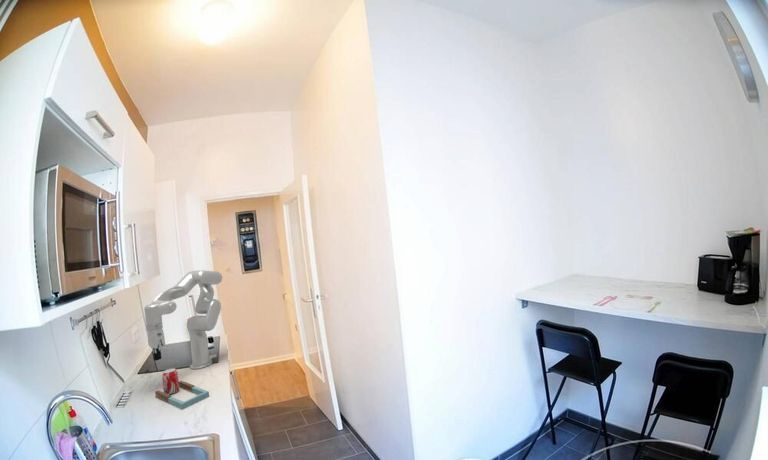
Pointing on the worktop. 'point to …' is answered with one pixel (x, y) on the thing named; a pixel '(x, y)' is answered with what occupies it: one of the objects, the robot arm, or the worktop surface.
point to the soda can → (170, 381)
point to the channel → (165, 396)
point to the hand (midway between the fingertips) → (157, 359)
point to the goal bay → (201, 395)
